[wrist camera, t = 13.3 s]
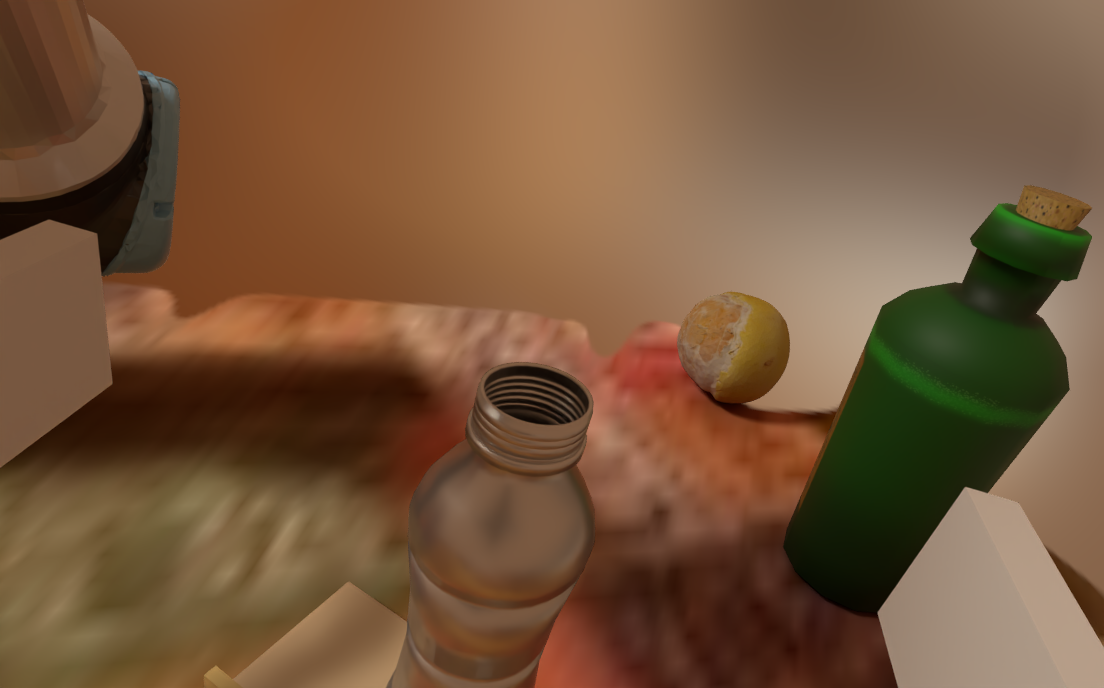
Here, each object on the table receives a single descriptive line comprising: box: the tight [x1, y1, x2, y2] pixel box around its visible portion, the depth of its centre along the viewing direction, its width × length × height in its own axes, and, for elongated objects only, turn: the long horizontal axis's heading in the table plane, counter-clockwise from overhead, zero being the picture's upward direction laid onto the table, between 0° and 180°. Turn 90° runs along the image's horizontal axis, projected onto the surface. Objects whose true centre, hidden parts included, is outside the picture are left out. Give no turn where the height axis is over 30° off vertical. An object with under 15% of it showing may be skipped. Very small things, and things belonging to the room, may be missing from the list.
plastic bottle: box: [386, 362, 595, 688], centre depth 27 cm, size 6×7×20 cm
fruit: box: [677, 292, 790, 403], centre depth 67 cm, size 10×11×10 cm
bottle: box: [783, 186, 1092, 613], centre depth 45 cm, size 11×11×28 cm
